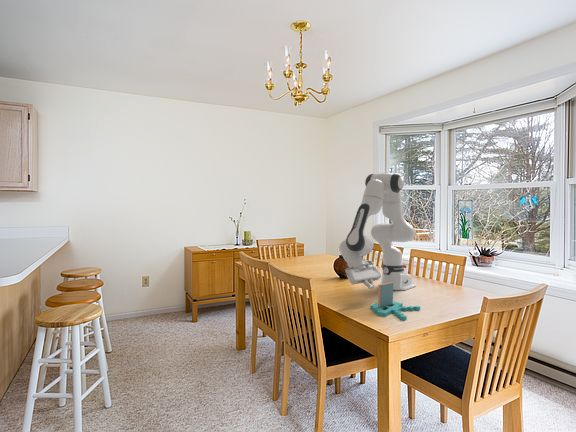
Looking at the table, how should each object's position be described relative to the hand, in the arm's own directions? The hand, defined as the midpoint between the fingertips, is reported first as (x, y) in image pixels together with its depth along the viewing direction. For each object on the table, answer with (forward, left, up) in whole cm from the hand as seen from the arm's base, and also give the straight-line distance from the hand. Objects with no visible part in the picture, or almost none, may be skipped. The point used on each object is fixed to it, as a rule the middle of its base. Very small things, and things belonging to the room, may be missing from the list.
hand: (371, 288), depth 183 cm
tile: (0, +9, -7) cm, 11 cm away
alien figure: (0, +13, -9) cm, 16 cm away
